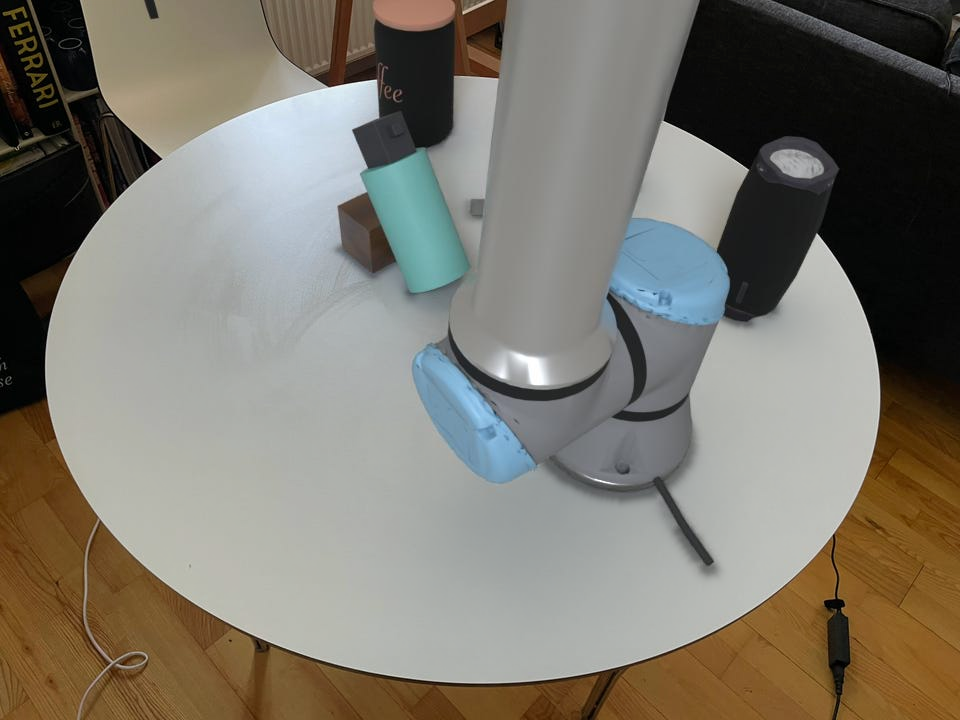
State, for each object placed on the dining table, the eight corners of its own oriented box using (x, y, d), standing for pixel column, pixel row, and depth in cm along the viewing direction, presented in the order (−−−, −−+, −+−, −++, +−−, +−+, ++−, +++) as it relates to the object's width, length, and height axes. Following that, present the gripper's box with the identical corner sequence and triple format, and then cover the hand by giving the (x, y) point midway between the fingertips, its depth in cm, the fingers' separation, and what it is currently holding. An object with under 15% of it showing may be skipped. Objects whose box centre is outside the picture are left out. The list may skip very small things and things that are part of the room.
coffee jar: (376, 112, 113) (368, -11, 100) (447, 108, 115) (449, -14, 101) (383, 153, 106) (376, 26, 93) (458, 148, 108) (462, 22, 94)
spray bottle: (483, 289, 88) (483, 140, 74) (434, 319, 84) (424, 169, 71) (404, 234, 95) (390, 91, 82) (355, 260, 92) (332, 114, 78)
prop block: (424, 245, 93) (423, 203, 89) (372, 273, 90) (369, 231, 85) (393, 222, 96) (391, 179, 91) (342, 248, 92) (337, 205, 88)
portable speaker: (731, 264, 94) (787, 122, 79) (794, 307, 89) (865, 165, 74) (685, 292, 90) (735, 148, 75) (749, 339, 85) (814, 195, 71)
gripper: (315, -298, 63) (339, -30, 79) (-19, -291, 55) (83, 4, 71) (343, -281, 58) (363, 0, 74) (-16, -271, 51) (92, 39, 67)
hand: (226, 2), depth 73 cm, fingers open, 13 cm apart
